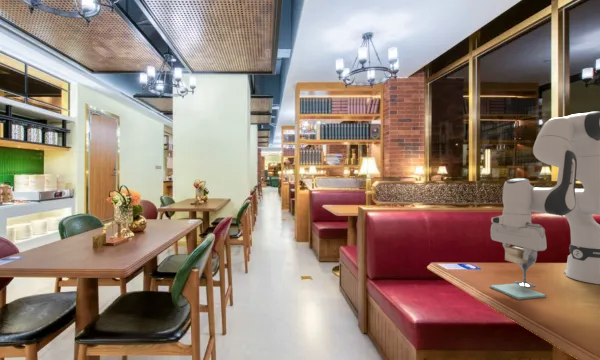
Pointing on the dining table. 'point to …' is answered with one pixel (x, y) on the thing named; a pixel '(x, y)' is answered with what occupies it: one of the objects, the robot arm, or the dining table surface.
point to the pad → (517, 291)
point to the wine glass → (525, 266)
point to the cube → (514, 255)
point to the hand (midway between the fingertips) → (516, 257)
